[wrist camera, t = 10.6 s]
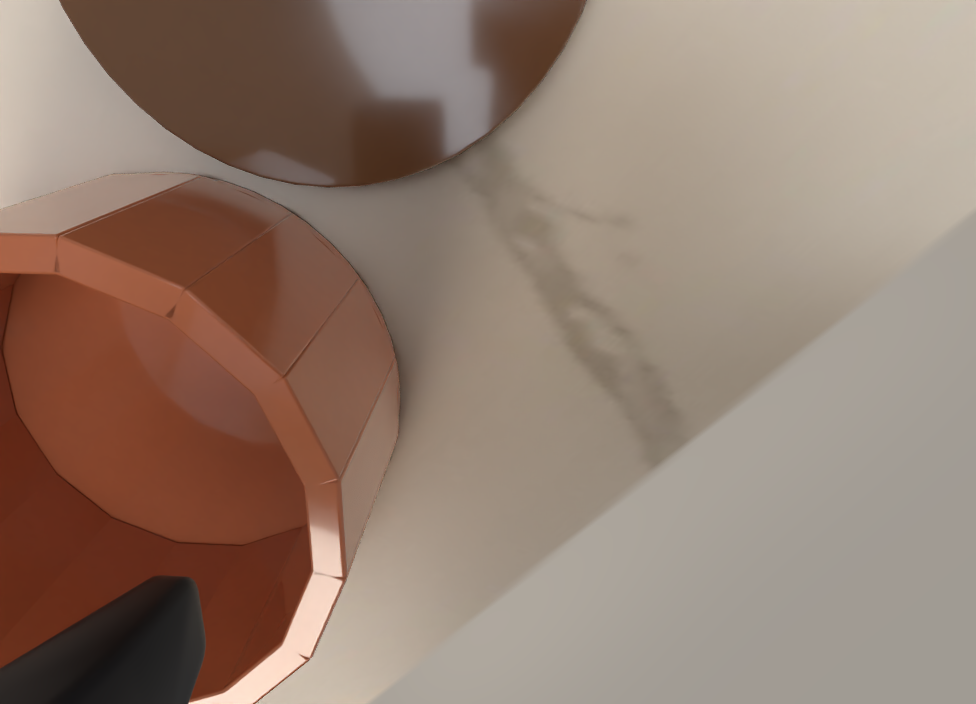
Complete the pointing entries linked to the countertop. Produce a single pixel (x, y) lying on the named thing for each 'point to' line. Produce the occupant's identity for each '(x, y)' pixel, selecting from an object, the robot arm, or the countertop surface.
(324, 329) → the crock
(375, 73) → the lid
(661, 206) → the countertop surface
